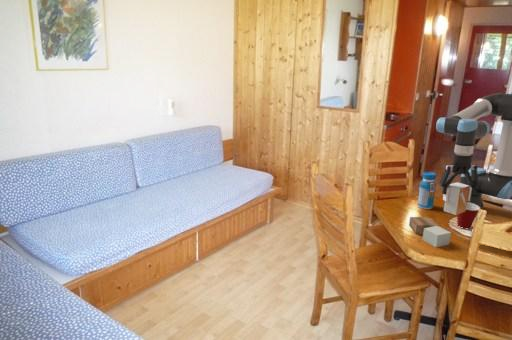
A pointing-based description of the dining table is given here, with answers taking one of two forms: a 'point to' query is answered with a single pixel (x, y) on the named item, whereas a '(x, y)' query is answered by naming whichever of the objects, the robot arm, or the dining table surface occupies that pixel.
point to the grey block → (436, 236)
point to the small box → (457, 198)
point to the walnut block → (421, 224)
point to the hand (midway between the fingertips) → (456, 200)
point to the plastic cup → (467, 215)
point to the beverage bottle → (427, 191)
